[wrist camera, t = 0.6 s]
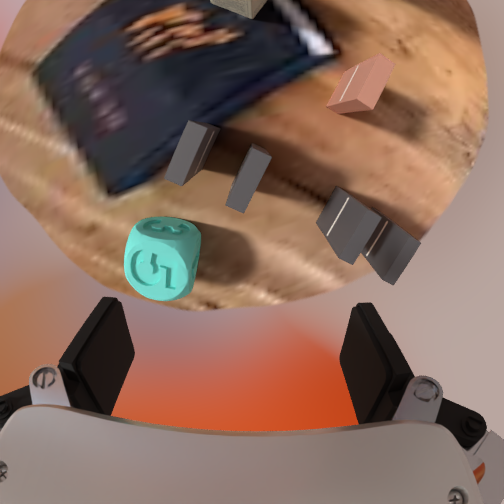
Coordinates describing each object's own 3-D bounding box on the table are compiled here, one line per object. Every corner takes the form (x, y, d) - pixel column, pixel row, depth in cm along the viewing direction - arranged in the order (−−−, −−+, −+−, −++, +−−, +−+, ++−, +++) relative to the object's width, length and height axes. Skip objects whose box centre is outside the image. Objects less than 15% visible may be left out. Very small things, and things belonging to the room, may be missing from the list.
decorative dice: (197, 275, 41) (186, 307, 34) (144, 265, 40) (124, 294, 33) (203, 222, 38) (192, 245, 30) (146, 212, 37) (123, 233, 30)
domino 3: (325, 106, 32) (356, 98, 21) (344, 71, 30) (379, 52, 19) (338, 114, 32) (373, 109, 22) (356, 79, 30) (395, 64, 20)
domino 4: (315, 222, 38) (338, 258, 28) (336, 185, 36) (367, 209, 26) (327, 228, 38) (352, 265, 28) (347, 192, 36) (381, 217, 26)
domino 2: (232, 182, 36) (225, 205, 26) (252, 142, 34) (252, 147, 23) (245, 188, 36) (244, 213, 26) (265, 149, 34) (272, 157, 24)
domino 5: (351, 241, 39) (382, 279, 29) (371, 206, 37) (410, 235, 27) (361, 246, 39) (393, 285, 29) (381, 212, 37) (421, 243, 27)
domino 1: (188, 163, 34) (163, 178, 24) (207, 123, 32) (188, 120, 22) (202, 169, 35) (182, 186, 25) (220, 128, 33) (207, 128, 23)
